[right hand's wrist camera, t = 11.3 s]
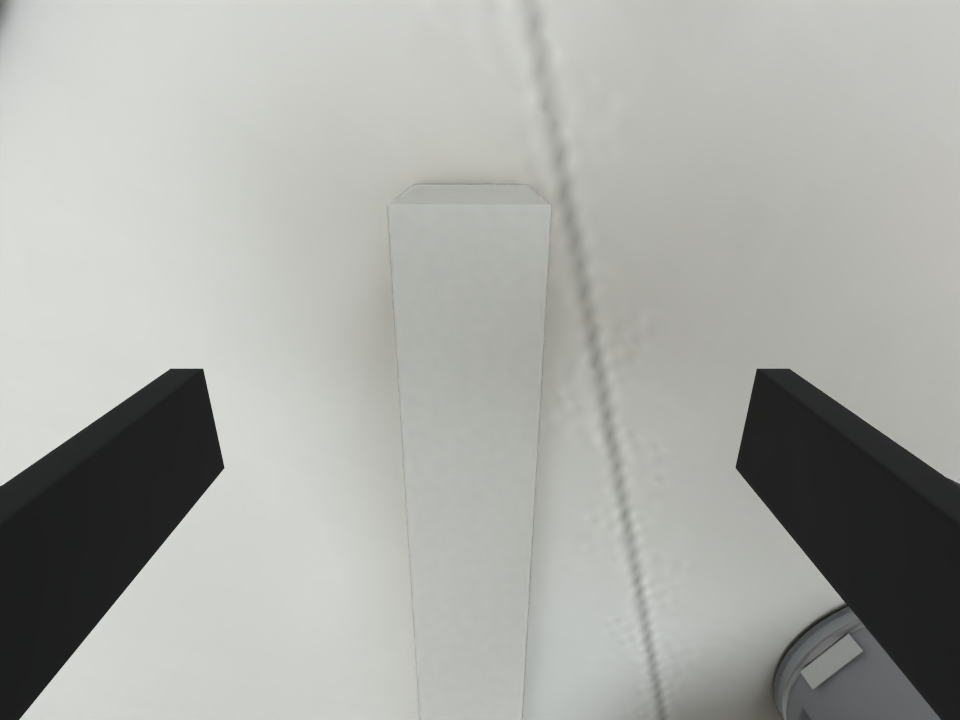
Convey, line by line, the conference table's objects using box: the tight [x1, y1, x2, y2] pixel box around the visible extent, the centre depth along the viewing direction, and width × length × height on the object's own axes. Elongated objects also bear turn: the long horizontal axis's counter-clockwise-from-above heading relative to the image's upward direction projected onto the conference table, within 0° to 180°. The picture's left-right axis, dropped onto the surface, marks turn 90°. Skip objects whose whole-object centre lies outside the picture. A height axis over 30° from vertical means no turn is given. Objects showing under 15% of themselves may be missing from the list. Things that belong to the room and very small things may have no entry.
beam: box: [387, 184, 552, 720], centre depth 31 cm, size 59×5×7 cm, turn 0°
